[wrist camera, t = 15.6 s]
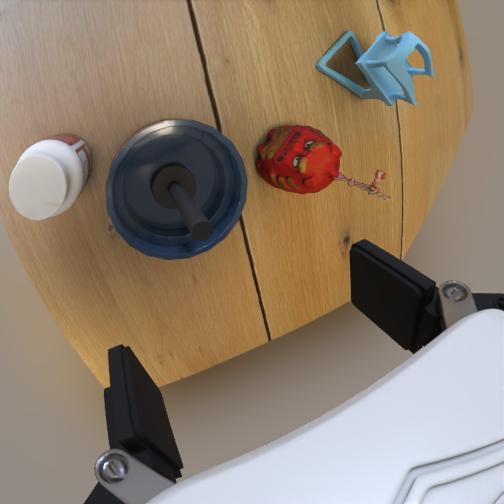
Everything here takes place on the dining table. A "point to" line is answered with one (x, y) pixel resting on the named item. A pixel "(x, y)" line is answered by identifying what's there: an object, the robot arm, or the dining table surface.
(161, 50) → the dining table surface
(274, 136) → the red clay folk toy
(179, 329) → the dining table surface
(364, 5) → the dining table surface
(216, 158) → the bowl
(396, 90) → the chair
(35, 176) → the pill bottle
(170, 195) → the black disc-end rod
